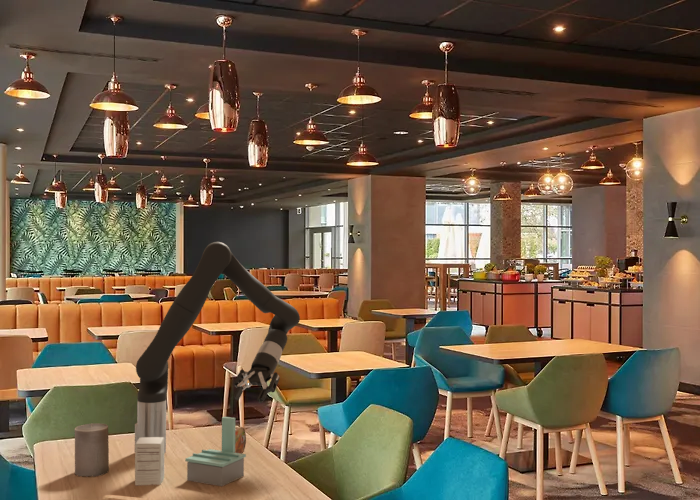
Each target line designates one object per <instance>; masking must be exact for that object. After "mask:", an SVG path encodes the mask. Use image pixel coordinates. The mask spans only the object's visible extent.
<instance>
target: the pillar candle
mask: <svg viewBox="0 0 700 500" xmlns="http://www.w3.org/2000/svg"><path fill="white" fill-rule="evenodd" d="M109 443H110V442H109V425H108V424H106V423H97V422H95V423H93V422H91V423H86V424H82V425H81V424H80V425H77V426H76V427H74V475H75V474H76V475H75V476H77V475H78V476H77V477H80V476H86V477H88V476H93V477H99V476H103V475H105V474H107V473H108V472H109V471H110V470H109V469H110V468H109V467H110V464H109V463H110V461H109V458H110V457H109V455H110V454H109V453H110V452H109V447H110V446H109Z"/></svg>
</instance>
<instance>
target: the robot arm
mask: <svg viewBox="0 0 700 500" xmlns="http://www.w3.org/2000/svg"><path fill="white" fill-rule="evenodd" d="M221 274H223V276H225V277H226V278H228V279H229V280H230V281H231V282H232V283H233V284H234V285H235V286H236V287H237V288H238V289H239V291H240V292H241V293H242V294H243V295H244V296H245V298H246V299H248V300H249V302H251V303H252V304H253V305H254V306H255V307H256V308H257V309H258V310H259V311H260V312H262V313H263V314H273V317H272V319H271V320H270V323H269V327H268V329H267V330H268V332H267V334H266V336H265V338H264V340H263V342H262V344H261V345H260V347H259V349H258V351H257V352H256V355H255V357H254V358H253V361H252V363H251V367H250V370H248V371H245V370H244V369H243V368H242V369H240V370H239V372H238V374H237V376H236V378H235V379H234V381H233V383H232V384H233V385H234V387H235V388H236V389H235V391H234V393H233V398H234V399H235V401H239V400H240V398H241V397H242V394H243V392H244V391H245V390H246V389H247V388H248V389H249V388H251V386H253V387H255V386H258V387H261V386H262V388H261V390H260V392H259V395H258V396H257V399H256V400H257V402H258V403H259V404H262V403H263V402H264V401H265V400H266V398H267V395H268V394H270V393H275V391H276V389H277V387H278V384H279V382H280V379H281V377H280V375H279V374H278V372H276V371H275V370H276V369H277V367H278V364H279V362H280V360H281V358H282V353H283V351H284V349H285V347H286V344H287V343H288V336H287V334H288V332H289V331H291V329H293V328H294V327H296V326H297V325H298V324H299V323H300V320H301V318H300V317H301V316H300V313H299V311H298V310H297V308H295V307H294V306H293V305H291V304H290V303H288V302H286V301H285V300H283V299H281V298H279V297H277V296H276V295H275V294H274V293H273V292H272V291H271V290H270V289H269V288H268V287H267V286H265V285H264V284H263V283H262V282H261V281H260V280H258V279H257V278H256V277H255V276H254V275H253V273H250V272H249V271H248V270H247V268H245V267H244V266H243V265H242V263H240V261H239V260H238V259H237V258H236V256H235V255H234V254H233V252H232V251H231V249H230V247H229V246H228V245H227V244H226V243H224V242H221V241H214V242H210V243H209V244H208V245H206V247H205V248H204V250H203V253H202V255H201V258H200V260H199V262H198V265H197V266H196V268H195V271H194V272H193V274H192V275H191V277H190V279H189V280H188V281H187V282H186V283H185V284H184V286H183V287H182V289H181V290H180V291H179V293H178V294H177V295H176V297H175V299H174V300H173V302H172V303H171V305H170V307H169V309H168V310H167V312H166V315H165V316H164V317H163V320H162V321H161V324H160V326H159V328H158V329H157V332H156V334H155V336H154V337H153V339H152V341H151V342H150V344H149V345H148V347H146V349H145V350H144V352H143V353H142V354H141V356H140V357H139V358H137V361H136V364H135V372H136V375H137V376H138V378H139V385H138V386H139V388H138V391H137V406H136V407H137V415H136V416H137V421H136V423H134V444H135V443H136V442H137V441H138V439H139V438H141V437H164V454H165V453H166V451H167V450H166V449H167V395H168V384H169V361H168V360H170V356H171V355H172V353H173V351H174V349H175V348H176V346H177V345H178V344H179V342H181V340H183V338H184V337H185V336H186V334H187V333H188V331H189V330H190V329H191V328H192V326H193V325H194V323H195V321H196V320H197V318H198V316H199V315H200V313H201V312H202V309H203V307H204V306H205V304H206V301H207V298H208V297H209V294H210V291H211V290H212V288H213V286H214V285H215V283H216V282H217V280H218V279H219V277H220V276H221ZM248 381H249V382H248ZM269 381H270V382H269ZM268 382H269V384H268Z"/></svg>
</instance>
